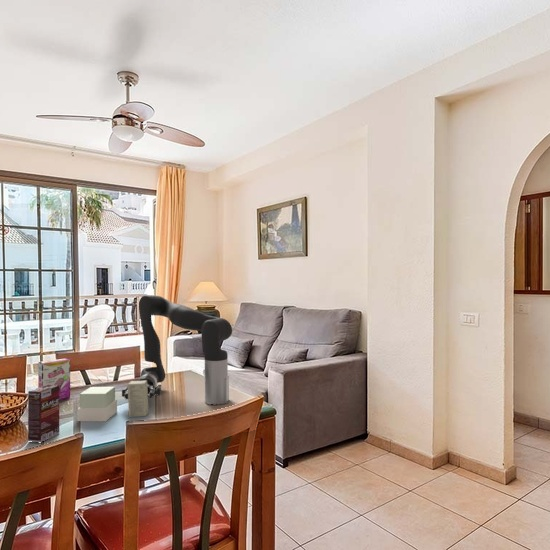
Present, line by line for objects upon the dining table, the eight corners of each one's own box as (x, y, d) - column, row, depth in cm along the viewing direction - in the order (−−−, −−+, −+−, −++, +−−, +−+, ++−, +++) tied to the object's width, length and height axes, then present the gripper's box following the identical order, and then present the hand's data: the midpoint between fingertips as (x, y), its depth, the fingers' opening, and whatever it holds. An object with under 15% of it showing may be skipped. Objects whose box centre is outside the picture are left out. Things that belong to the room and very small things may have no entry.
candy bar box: (42, 404, 168) (41, 363, 168) (38, 401, 172) (37, 361, 172) (71, 398, 176) (70, 359, 176) (66, 395, 180) (66, 357, 180)
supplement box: (41, 444, 129) (40, 392, 128) (27, 442, 130) (26, 391, 129) (60, 433, 137) (60, 384, 137) (47, 432, 138) (47, 384, 138)
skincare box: (148, 412, 157) (148, 380, 157) (145, 416, 152) (144, 383, 152) (131, 413, 156) (131, 380, 156) (127, 417, 152) (127, 383, 152)
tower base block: (117, 413, 158) (117, 399, 158) (105, 422, 148) (105, 408, 148) (91, 413, 158) (90, 399, 158) (77, 422, 148) (77, 408, 148)
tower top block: (115, 399, 158) (115, 386, 157) (105, 407, 149) (105, 393, 148) (91, 400, 158) (91, 386, 157) (80, 407, 149) (79, 393, 148)
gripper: (128, 376, 171) (118, 386, 155) (164, 374, 172) (158, 385, 156) (128, 394, 171) (118, 407, 155) (164, 392, 172) (158, 405, 156)
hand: (138, 396), depth 155 cm, fingers open, 8 cm apart
